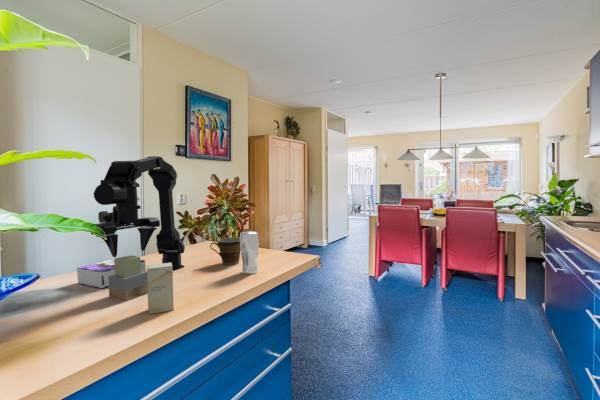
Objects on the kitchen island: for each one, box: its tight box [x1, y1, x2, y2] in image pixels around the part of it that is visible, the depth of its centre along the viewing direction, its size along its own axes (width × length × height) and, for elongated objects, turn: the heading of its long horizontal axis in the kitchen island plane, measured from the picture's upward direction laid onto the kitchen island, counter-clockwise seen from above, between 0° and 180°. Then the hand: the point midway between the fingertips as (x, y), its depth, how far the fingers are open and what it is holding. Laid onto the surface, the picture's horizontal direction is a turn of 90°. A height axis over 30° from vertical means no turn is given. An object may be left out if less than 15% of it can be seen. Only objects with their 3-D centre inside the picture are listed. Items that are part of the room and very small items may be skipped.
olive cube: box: [113, 254, 141, 277], centre depth 94 cm, size 5×5×5 cm
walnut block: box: [108, 284, 148, 302], centre depth 95 cm, size 8×8×4 cm
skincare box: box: [146, 262, 175, 315], centre depth 83 cm, size 6×4×12 cm
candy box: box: [76, 256, 147, 289], centre depth 111 cm, size 14×6×16 cm
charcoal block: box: [108, 270, 148, 291], centre depth 95 cm, size 8×8×4 cm
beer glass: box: [239, 230, 260, 275], centre depth 116 cm, size 7×7×15 cm
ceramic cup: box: [209, 237, 241, 266], centre depth 129 cm, size 13×10×10 cm
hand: (129, 253), depth 94 cm, fingers open, 9 cm apart
